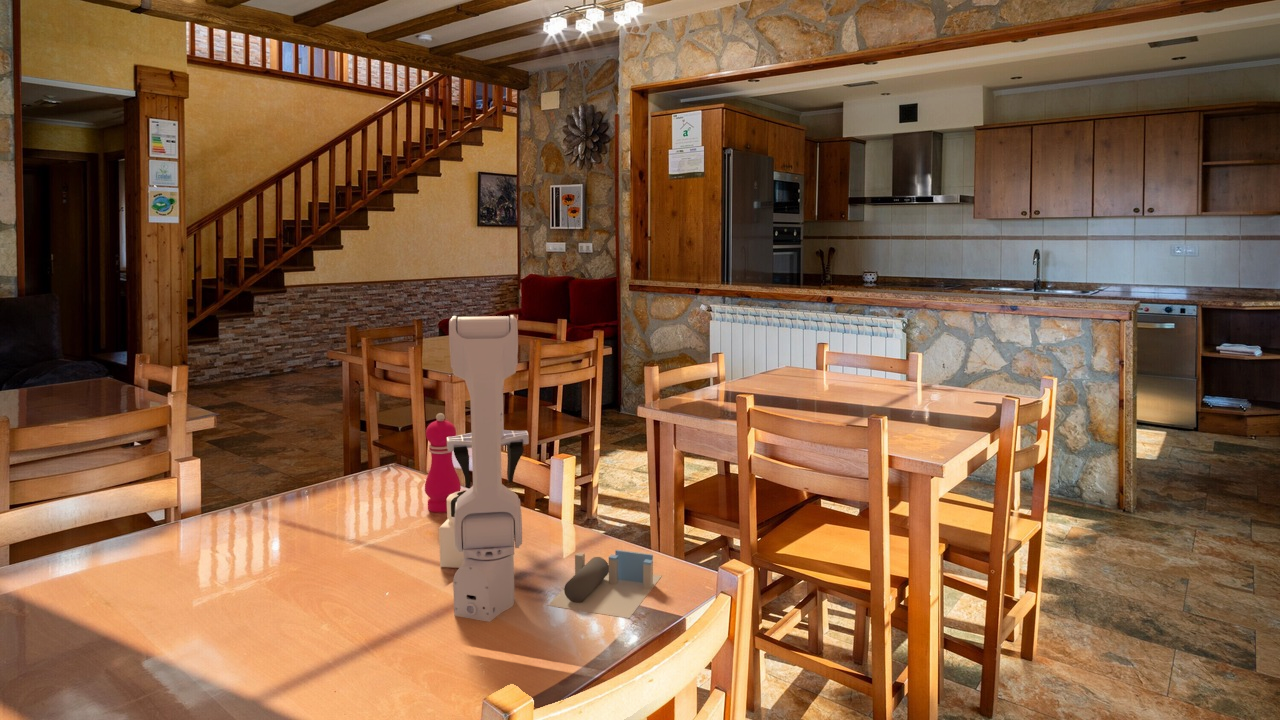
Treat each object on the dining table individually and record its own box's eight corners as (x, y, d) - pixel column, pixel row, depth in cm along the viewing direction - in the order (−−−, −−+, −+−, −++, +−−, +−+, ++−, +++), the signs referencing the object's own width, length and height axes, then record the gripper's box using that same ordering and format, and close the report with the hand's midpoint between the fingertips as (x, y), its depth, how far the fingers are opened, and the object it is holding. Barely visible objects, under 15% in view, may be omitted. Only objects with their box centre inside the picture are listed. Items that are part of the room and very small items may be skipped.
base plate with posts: (629, 623, 119) (629, 586, 119) (547, 610, 123) (547, 574, 123) (661, 580, 134) (662, 547, 134) (588, 570, 138) (587, 538, 138)
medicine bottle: (492, 553, 146) (490, 488, 144) (480, 569, 139) (478, 500, 137) (453, 551, 146) (451, 486, 145) (439, 567, 139) (437, 499, 138)
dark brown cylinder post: (586, 604, 124) (586, 581, 123) (564, 600, 125) (564, 578, 124) (609, 579, 133) (609, 558, 132) (588, 576, 134) (588, 555, 133)
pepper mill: (417, 510, 169) (414, 414, 166) (441, 500, 175) (438, 408, 172) (445, 515, 165) (441, 418, 162) (468, 505, 172) (465, 411, 169)
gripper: (524, 402, 153) (524, 469, 157) (444, 408, 149) (447, 477, 153) (530, 415, 147) (531, 485, 151) (447, 422, 143) (450, 493, 147)
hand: (489, 482), depth 152 cm, fingers open, 7 cm apart
